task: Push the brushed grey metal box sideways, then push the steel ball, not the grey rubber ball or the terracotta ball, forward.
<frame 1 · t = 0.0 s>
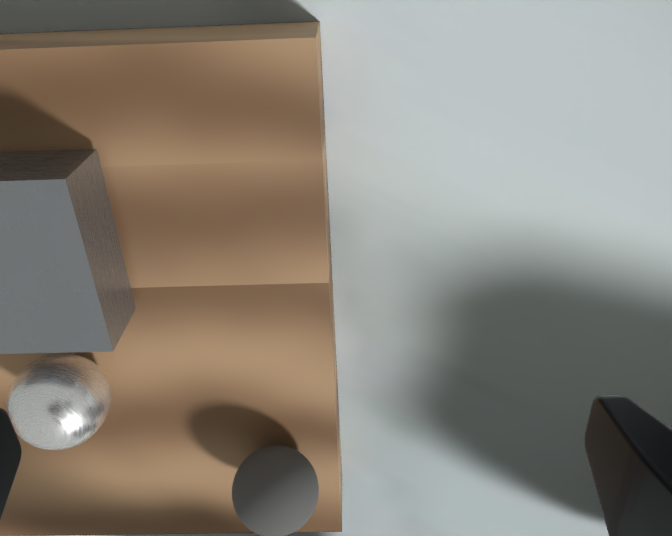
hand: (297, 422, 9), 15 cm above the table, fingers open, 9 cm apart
walnut deck: (98, 305, 26), on the table
brushed grey metal box: (13, 255, 20), point 5 cm above the table, slide at 0.0 cm
steel ball: (60, 400, 22), point 5 cm above the table, touching walnut deck
grey rubber ball: (275, 490, 25), point 5 cm above the table, touching walnut deck
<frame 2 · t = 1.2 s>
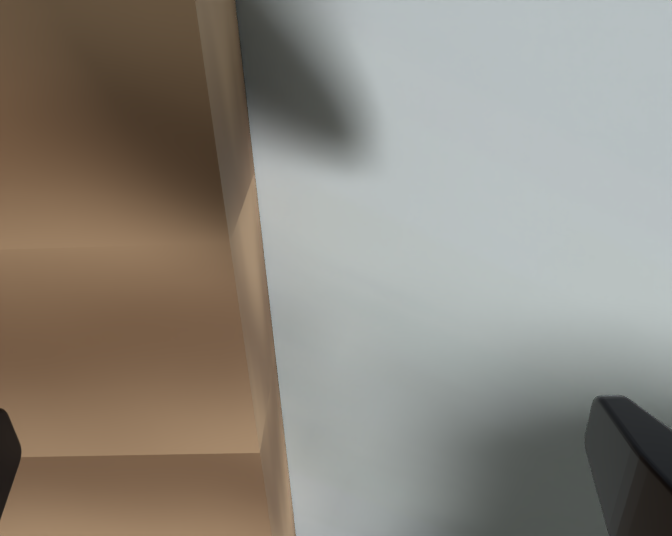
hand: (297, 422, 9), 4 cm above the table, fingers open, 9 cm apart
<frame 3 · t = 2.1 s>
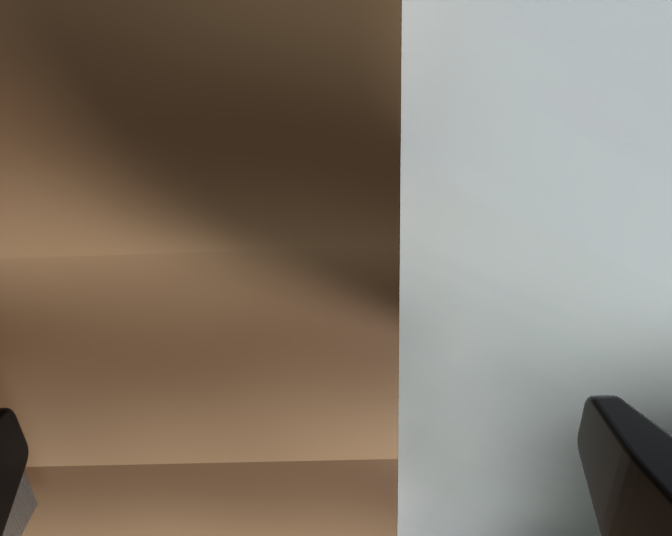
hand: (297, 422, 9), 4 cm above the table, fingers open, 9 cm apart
walnut deck: (3, 451, 16), on the table
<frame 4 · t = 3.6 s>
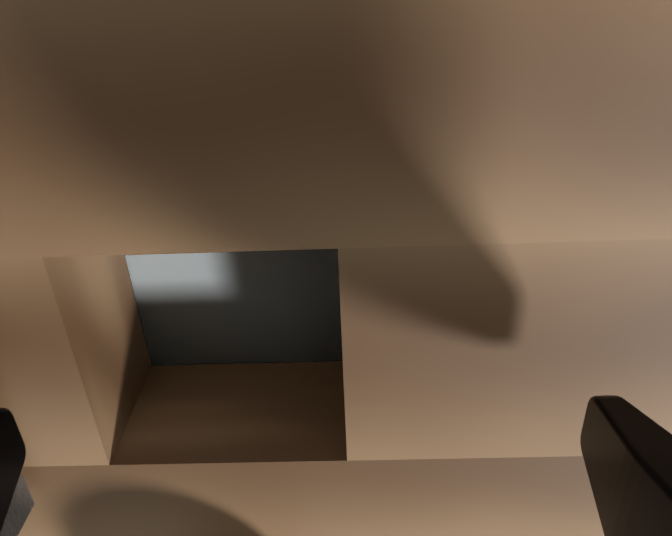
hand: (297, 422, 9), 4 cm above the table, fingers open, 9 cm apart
walnut deck: (260, 445, 16), on the table
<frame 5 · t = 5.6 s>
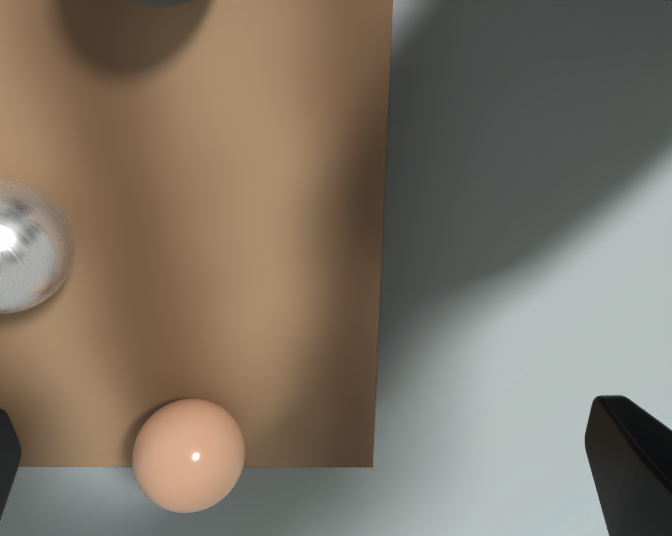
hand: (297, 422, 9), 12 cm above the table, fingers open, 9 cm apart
walnut deck: (40, 178, 20), on the table
steel ball: (2, 245, 16), point 5 cm above the table, touching walnut deck
terracotta ball: (190, 454, 20), point 5 cm above the table, touching walnut deck
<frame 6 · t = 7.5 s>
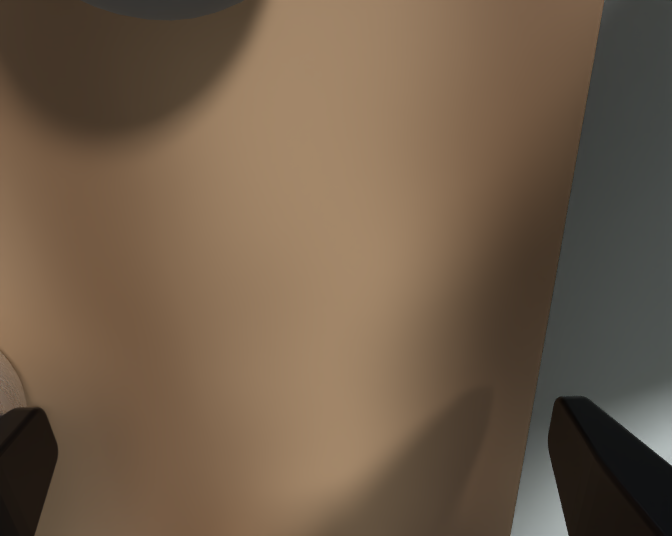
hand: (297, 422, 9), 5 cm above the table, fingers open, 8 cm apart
walnut deck: (1, 272, 13), on the table
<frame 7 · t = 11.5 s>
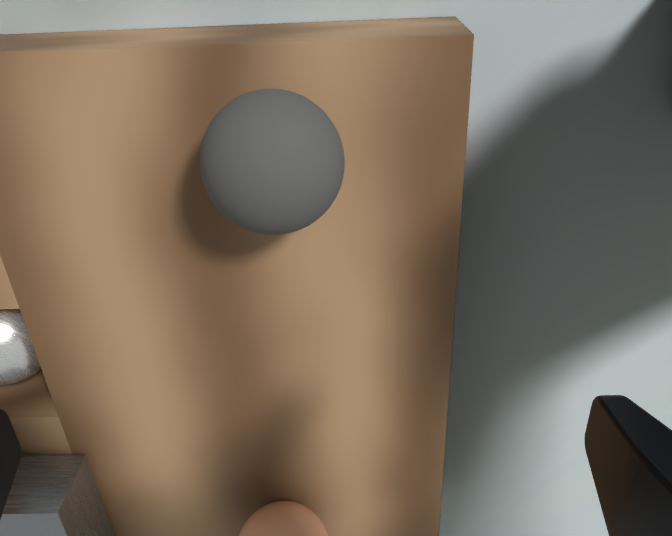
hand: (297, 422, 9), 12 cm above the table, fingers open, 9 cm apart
walnut deck: (145, 313, 23), on the table
steel ball: (2, 334, 21), point 2 cm above the table, tilted 155°
grey rubber ball: (273, 163, 15), point 5 cm above the table, touching walnut deck
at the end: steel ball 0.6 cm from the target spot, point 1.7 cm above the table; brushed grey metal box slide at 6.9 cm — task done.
